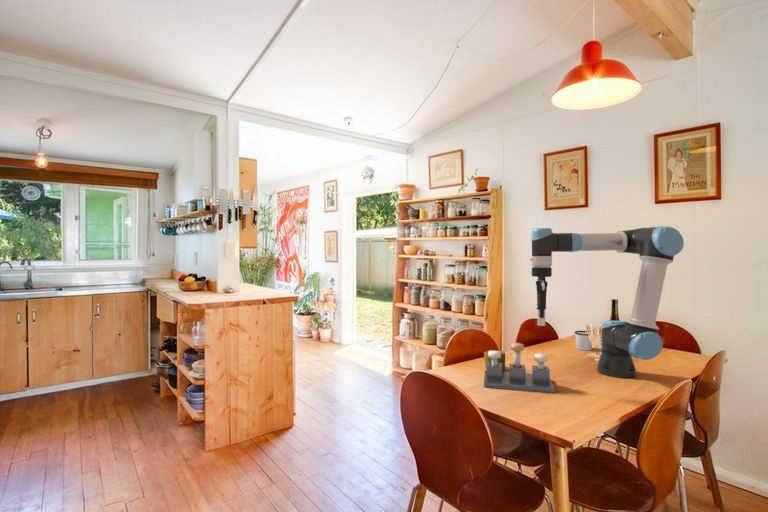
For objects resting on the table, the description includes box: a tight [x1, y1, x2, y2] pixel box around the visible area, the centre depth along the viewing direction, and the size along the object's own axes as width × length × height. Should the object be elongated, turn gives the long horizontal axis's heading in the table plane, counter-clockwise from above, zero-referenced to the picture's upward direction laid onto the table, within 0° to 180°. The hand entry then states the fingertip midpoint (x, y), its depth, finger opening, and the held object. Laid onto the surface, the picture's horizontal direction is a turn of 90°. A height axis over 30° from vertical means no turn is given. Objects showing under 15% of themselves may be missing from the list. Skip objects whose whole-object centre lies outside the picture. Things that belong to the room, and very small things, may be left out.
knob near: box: [533, 353, 549, 369], centre depth 163 cm, size 5×5×10 cm
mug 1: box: [483, 349, 506, 371], centre depth 185 cm, size 12×10×10 cm
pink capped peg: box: [510, 342, 525, 368], centre depth 165 cm, size 5×5×10 cm
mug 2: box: [574, 330, 593, 352], centre depth 221 cm, size 12×10×9 cm
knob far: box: [488, 350, 501, 366], centre depth 167 cm, size 5×5×10 cm
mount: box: [483, 362, 555, 394], centre depth 165 cm, size 26×16×7 cm, turn 75°
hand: (541, 325), depth 162 cm, fingers closed
